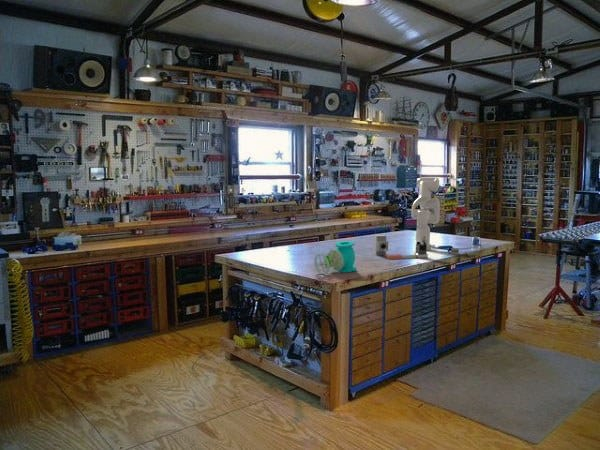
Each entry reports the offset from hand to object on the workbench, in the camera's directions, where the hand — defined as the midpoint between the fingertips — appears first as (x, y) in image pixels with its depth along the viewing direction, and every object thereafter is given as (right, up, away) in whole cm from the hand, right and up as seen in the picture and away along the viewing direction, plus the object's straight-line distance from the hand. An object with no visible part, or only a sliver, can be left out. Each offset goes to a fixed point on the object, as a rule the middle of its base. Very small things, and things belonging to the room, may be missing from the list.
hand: (421, 249), depth 378 cm
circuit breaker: (-29, -5, +11) cm, 31 cm away
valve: (-68, -13, -53) cm, 87 cm away
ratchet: (-11, -6, -2) cm, 13 cm away
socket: (0, -3, 0) cm, 3 cm away
